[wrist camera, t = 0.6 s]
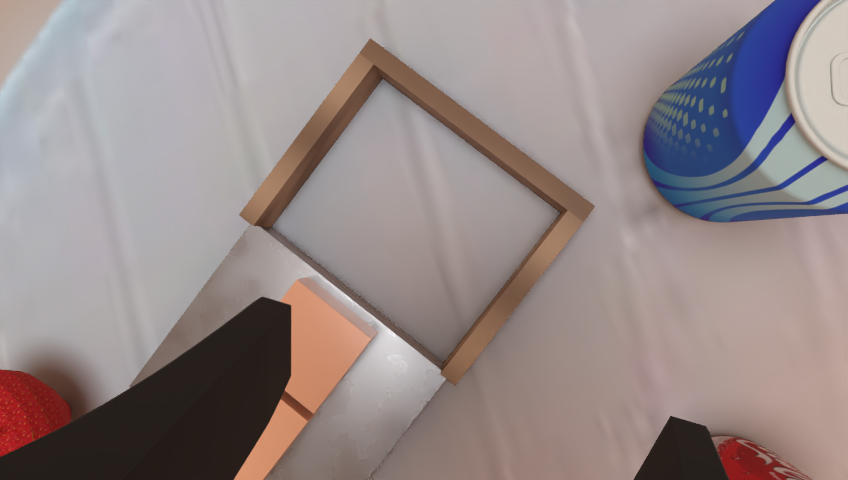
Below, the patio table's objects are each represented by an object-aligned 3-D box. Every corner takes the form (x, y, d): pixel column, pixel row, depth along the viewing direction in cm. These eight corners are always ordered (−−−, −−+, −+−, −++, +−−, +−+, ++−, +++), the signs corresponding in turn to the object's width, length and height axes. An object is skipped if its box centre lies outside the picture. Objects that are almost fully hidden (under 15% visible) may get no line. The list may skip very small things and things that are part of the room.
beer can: (698, 43, 36) (869, -115, 20) (825, 130, 35) (1108, 39, 19) (606, 164, 36) (703, 105, 20) (730, 252, 36) (930, 263, 20)
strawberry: (38, 483, 39) (-113, 565, 29) (3, 366, 40) (-158, 408, 30) (124, 457, 39) (1, 531, 29) (89, 339, 39) (-46, 372, 29)
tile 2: (266, 477, 36) (251, 495, 34) (199, 422, 36) (178, 434, 34) (319, 409, 36) (308, 421, 33) (250, 353, 36) (234, 361, 34)
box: (457, 373, 37) (454, 385, 34) (258, 216, 38) (239, 214, 35) (585, 209, 36) (595, 206, 33) (379, 54, 37) (370, 38, 34)
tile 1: (324, 402, 36) (313, 413, 33) (256, 346, 36) (240, 354, 34) (378, 332, 35) (371, 338, 33) (309, 276, 36) (296, 279, 33)
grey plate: (326, 526, 38) (318, 543, 36) (147, 378, 39) (129, 386, 37) (450, 368, 37) (448, 375, 35) (264, 222, 38) (252, 220, 36)
